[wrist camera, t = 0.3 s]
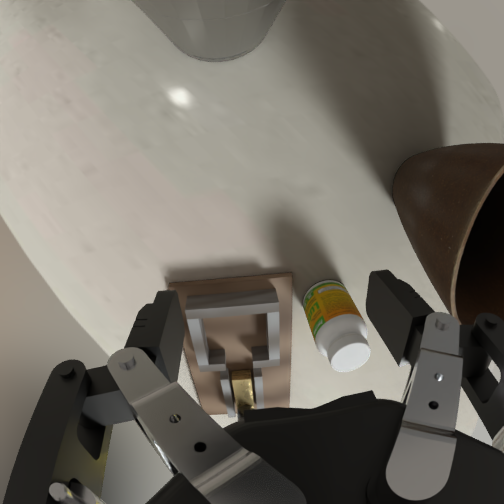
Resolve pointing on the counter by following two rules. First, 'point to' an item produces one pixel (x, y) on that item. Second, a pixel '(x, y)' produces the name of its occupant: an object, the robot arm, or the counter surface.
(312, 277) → the counter surface
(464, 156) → the plant pot
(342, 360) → the supplement bottle
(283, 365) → the docking base
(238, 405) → the locking bolt
